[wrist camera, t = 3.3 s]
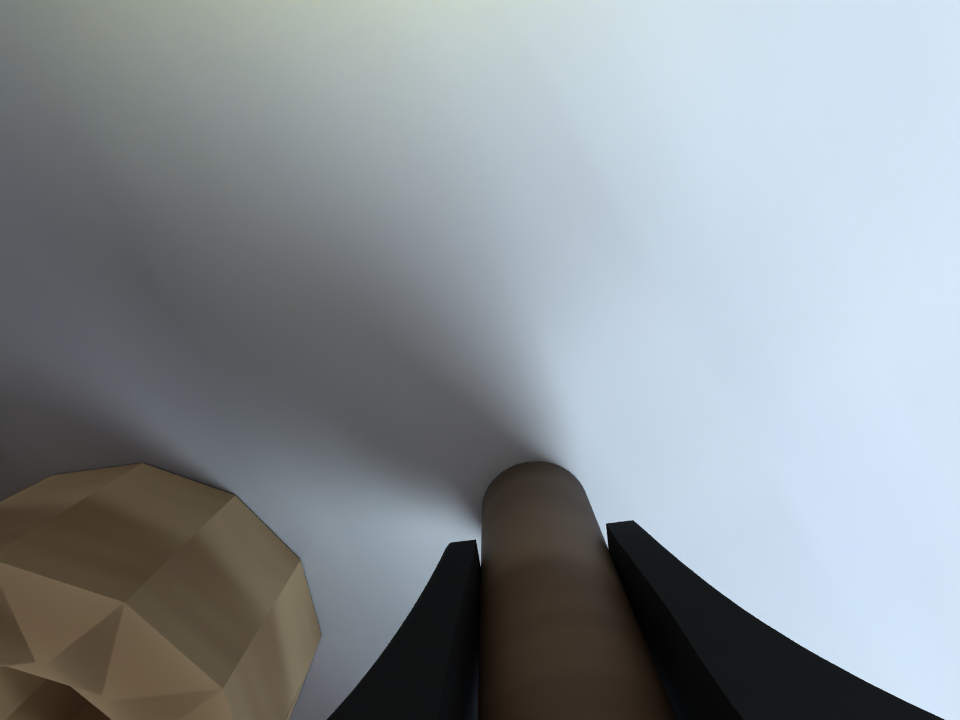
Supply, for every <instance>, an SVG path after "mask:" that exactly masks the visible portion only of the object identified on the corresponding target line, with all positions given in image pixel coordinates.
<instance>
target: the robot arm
mask: <svg viewBox="0 0 960 720" xmlns="http://www.w3.org/2000/svg"><path fill="white" fill-rule="evenodd" d="M606 527H607V538H608V548H609V552H610V555H611V557H612V560H613V562H614V565H615V567H616V570H617V572H618V575H619V577H620V579H621V582H622V584H623V587H624V589H625V592H626V594H627V597H628V599H629V602H630V604H631V607H632V609H633V612H634V614H635V617H636V619H637V622H638V624H639V627H640V629H641V632H642V634H643V637H644V639H645V642H646V644H647V647H648V649H649V652H650V654H651V657H652V659H653V661H654V664H655V666H656V669H657V671H658V674H659V676H660V679H661V681H662V684H663V686H664V689H665V691H666V694H667V696H668V699H669V701H670V704H671V706H672V709H673V711H674V714H675V716H676V719H677V720H944V719H942V718H940V717H938V716H936V715H934V714H931V713H929V712H927V711H925V710H923V709H921V708H919V707H916V706H914V705H912V704H910V703H908V702H906V701H904V700H902V699H900V698H898V697H896V696H894V695H892V694H890V693H888V692H886V691H884V690H882V689H880V688H877V687H875V686H873V685H871V684H870V683H868V682H866V681H864V680H862V679H860V678H858V677H856V676H855V675H853V674H851V673H849V672H847V671H845V670H843V669H842V668H840V667H838V666H836V665H834V664H832V663H830V662H829V661H827V660H825V659H823V658H821V657H819V656H818V655H816V654H814V653H813V652H811V651H809V650H807V649H806V648H804V647H802V646H800V645H799V644H797V643H795V642H794V641H792V640H791V639H789V638H787V637H786V636H784V635H783V634H781V633H779V632H778V631H776V630H775V629H773V628H771V627H770V626H768V625H766V624H765V623H763V622H762V621H760V620H759V619H757V618H756V617H754V616H753V615H751V614H750V613H748V612H747V611H745V610H744V609H742V608H741V607H739V606H738V605H737V604H735V603H734V602H732V601H731V600H730V599H728V598H727V597H725V596H724V595H723V594H721V593H720V592H719V591H717V590H716V589H715V588H713V587H712V586H711V585H709V584H708V583H707V582H706V581H704V580H703V579H702V578H701V577H699V576H698V575H697V574H696V573H694V572H693V571H692V570H691V569H689V568H688V567H687V566H686V565H684V564H683V563H682V562H681V561H679V560H678V559H677V558H676V557H675V556H674V555H672V554H671V553H670V552H669V551H668V550H667V549H665V548H664V547H663V546H662V545H661V544H660V543H658V542H657V541H656V540H655V539H654V538H653V537H652V536H651V535H649V534H648V533H647V532H646V531H645V530H644V529H643V528H642V527H640V526H639V525H638V524H637V523H636V522H634V521H633V520H632V521H624V522H616V523H607V524H606ZM480 587H481V566H480V560H479V555H478V549H477V543H476V540H469V541H460V542H452V543H450V544H449V545H448V546H447V547H446V549H445V551H444V553H443V555H442V557H441V559H440V561H439V563H438V565H437V567H436V569H435V571H434V572H433V574H432V576H431V578H430V580H429V581H428V583H427V585H426V587H425V588H424V590H423V592H422V593H421V595H420V597H419V598H418V600H417V602H416V603H415V605H414V607H413V608H412V610H411V612H410V613H409V615H408V616H407V618H406V619H405V621H404V622H403V624H402V625H401V627H400V628H399V630H398V631H397V633H396V634H395V636H394V637H393V638H392V640H391V641H390V643H389V644H388V646H387V647H386V649H385V650H384V651H383V653H382V654H381V655H380V657H379V658H378V659H377V661H376V662H375V663H374V665H373V666H372V667H371V669H370V670H369V671H368V672H367V674H366V675H365V676H364V677H363V679H362V680H361V681H360V682H359V684H358V685H357V686H356V687H355V688H354V690H353V691H352V692H351V693H350V694H349V695H348V697H347V698H346V699H345V700H344V701H343V702H342V703H341V704H340V706H339V707H338V708H337V709H336V710H335V711H334V712H333V713H332V715H331V716H330V717H329V718H328V719H327V720H477V718H478V673H479V629H480Z"/></svg>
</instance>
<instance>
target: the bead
mask: <svg viewBox="0 0 960 720" xmlns="http://www.w3.org/2000/svg"><path fill="white" fill-rule="evenodd" d="M320 638H321V631H320V627H319V624H318V620H317V617H316V613H315V609H314V606H313V602H312V599H311V595H310V592H309V588H308V584H307V581H306V577H305V574H304V570H303V567H302V563H301V560H300V559H299V558H298V557H297V556H296V555H295V554H294V553H293V552H292V551H291V550H290V549H289V548H288V547H287V546H286V545H285V544H284V543H283V542H282V541H281V540H280V539H279V538H278V537H277V536H276V535H275V534H274V533H273V532H272V531H271V530H270V529H269V528H268V527H267V526H266V525H265V524H264V523H263V522H262V521H261V520H260V519H259V518H258V517H257V516H256V515H255V514H254V513H253V512H252V511H251V510H250V509H249V508H248V507H247V506H245V505H244V504H243V503H242V502H241V501H240V500H239V499H238V498H237V497H236V496H235V495H233V494H230V493H227V492H224V491H221V490H218V489H216V488H213V487H210V486H207V485H204V484H201V483H198V482H195V481H193V480H190V479H187V478H184V477H181V476H178V475H175V474H172V473H170V472H167V471H164V470H161V469H158V468H155V467H152V466H149V465H147V464H144V463H138V464H131V465H124V466H116V467H109V468H102V469H94V470H87V471H80V472H72V473H65V474H58V475H51V476H49V477H48V478H46V479H44V480H42V481H40V482H38V483H36V484H34V485H32V486H30V487H28V488H26V489H24V490H22V491H20V492H18V493H16V494H14V495H12V496H11V497H9V498H7V499H5V500H3V501H1V502H0V720H289V718H290V716H291V714H292V711H293V709H294V707H295V704H296V702H297V699H298V697H299V694H300V692H301V689H302V686H303V684H304V681H305V678H306V675H307V673H308V670H309V667H310V665H311V662H312V659H313V657H314V654H315V651H316V649H317V646H318V643H319V641H320Z"/></svg>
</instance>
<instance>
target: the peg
mask: <svg viewBox="0 0 960 720" xmlns="http://www.w3.org/2000/svg"><path fill="white" fill-rule="evenodd" d="M477 720H677V719H676V716H675V714H674V711H673V709H672V706H671V704H670V701H669V699H668V696H667V694H666V691H665V689H664V686H663V684H662V681H661V679H660V676H659V674H658V671H657V669H656V666H655V664H654V661H653V659H652V657H651V654H650V652H649V649H648V647H647V644H646V642H645V639H644V637H643V634H642V632H641V629H640V627H639V624H638V622H637V619H636V617H635V614H634V612H633V609H632V607H631V604H630V602H629V599H628V597H627V594H626V592H625V589H624V587H623V584H622V582H621V579H620V577H619V575H618V572H617V570H616V567H615V565H614V562H613V560H612V557H611V555H610V552H609V550H608V547H607V545H606V542H605V540H604V537H603V535H602V532H601V530H600V527H599V525H598V522H597V520H596V517H595V515H594V512H593V510H592V507H591V505H590V502H589V500H588V498H587V495H586V493H585V490H584V488H583V486H582V485H581V483H580V482H579V481H578V480H577V479H576V477H575V476H574V475H572V474H571V473H570V472H569V471H567V470H565V469H564V468H562V467H559V466H557V465H554V464H551V463H546V462H527V463H521V464H518V465H515V466H513V467H511V468H509V469H507V470H505V471H504V472H502V473H501V474H500V475H499V476H497V477H496V478H495V479H494V480H493V482H492V483H491V484H490V486H489V487H488V489H487V491H486V493H485V496H484V499H483V504H482V539H481V587H480V629H479V673H478V718H477Z"/></svg>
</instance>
